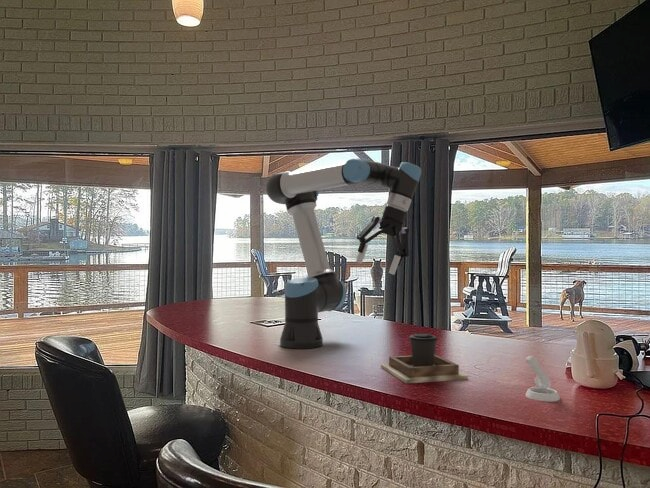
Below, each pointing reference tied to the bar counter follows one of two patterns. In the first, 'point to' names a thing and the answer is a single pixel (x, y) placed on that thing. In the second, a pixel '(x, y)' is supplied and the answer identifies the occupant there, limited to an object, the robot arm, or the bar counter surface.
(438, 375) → the collar board
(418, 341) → the coffee cup
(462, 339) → the bar counter surface
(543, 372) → the white ring with rod
